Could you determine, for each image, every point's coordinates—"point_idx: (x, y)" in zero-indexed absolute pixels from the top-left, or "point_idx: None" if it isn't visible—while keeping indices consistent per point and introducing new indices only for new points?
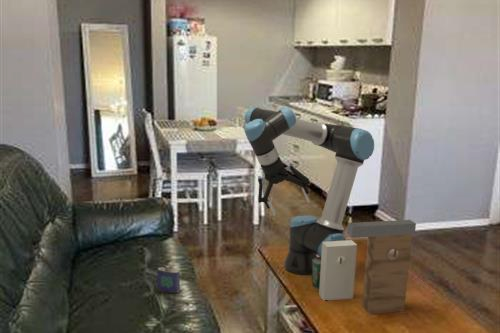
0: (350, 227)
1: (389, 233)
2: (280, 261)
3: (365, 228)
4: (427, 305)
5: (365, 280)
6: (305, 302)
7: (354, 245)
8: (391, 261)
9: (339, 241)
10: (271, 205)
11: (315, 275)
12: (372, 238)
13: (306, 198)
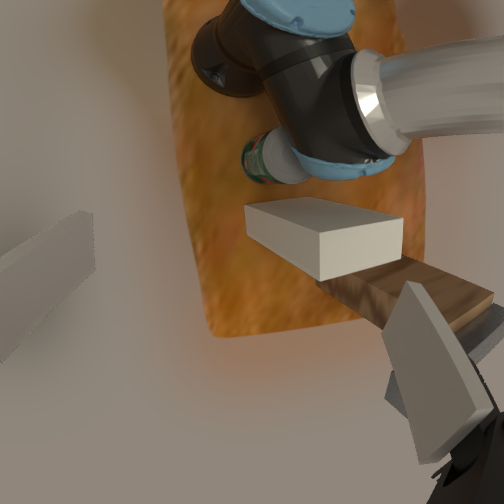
0: None
1: None
2: (189, 18)
3: None
4: (403, 250)
5: (351, 280)
6: (203, 242)
7: (394, 260)
8: None
9: (371, 229)
10: (35, 306)
11: (254, 170)
12: None
13: (397, 368)
